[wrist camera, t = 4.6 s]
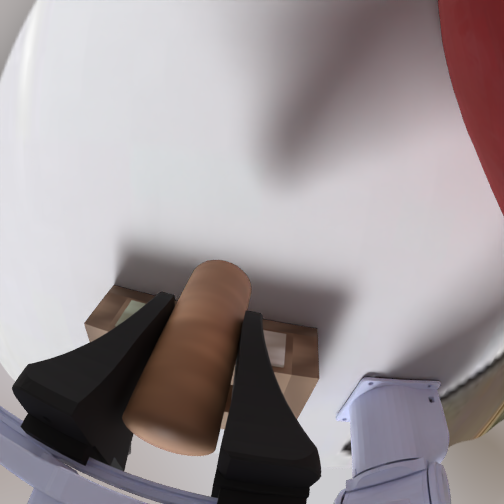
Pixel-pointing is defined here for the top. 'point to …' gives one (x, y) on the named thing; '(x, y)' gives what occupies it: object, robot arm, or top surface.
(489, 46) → the mixing bowl
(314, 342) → the socket block
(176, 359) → the peg
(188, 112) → the top surface
